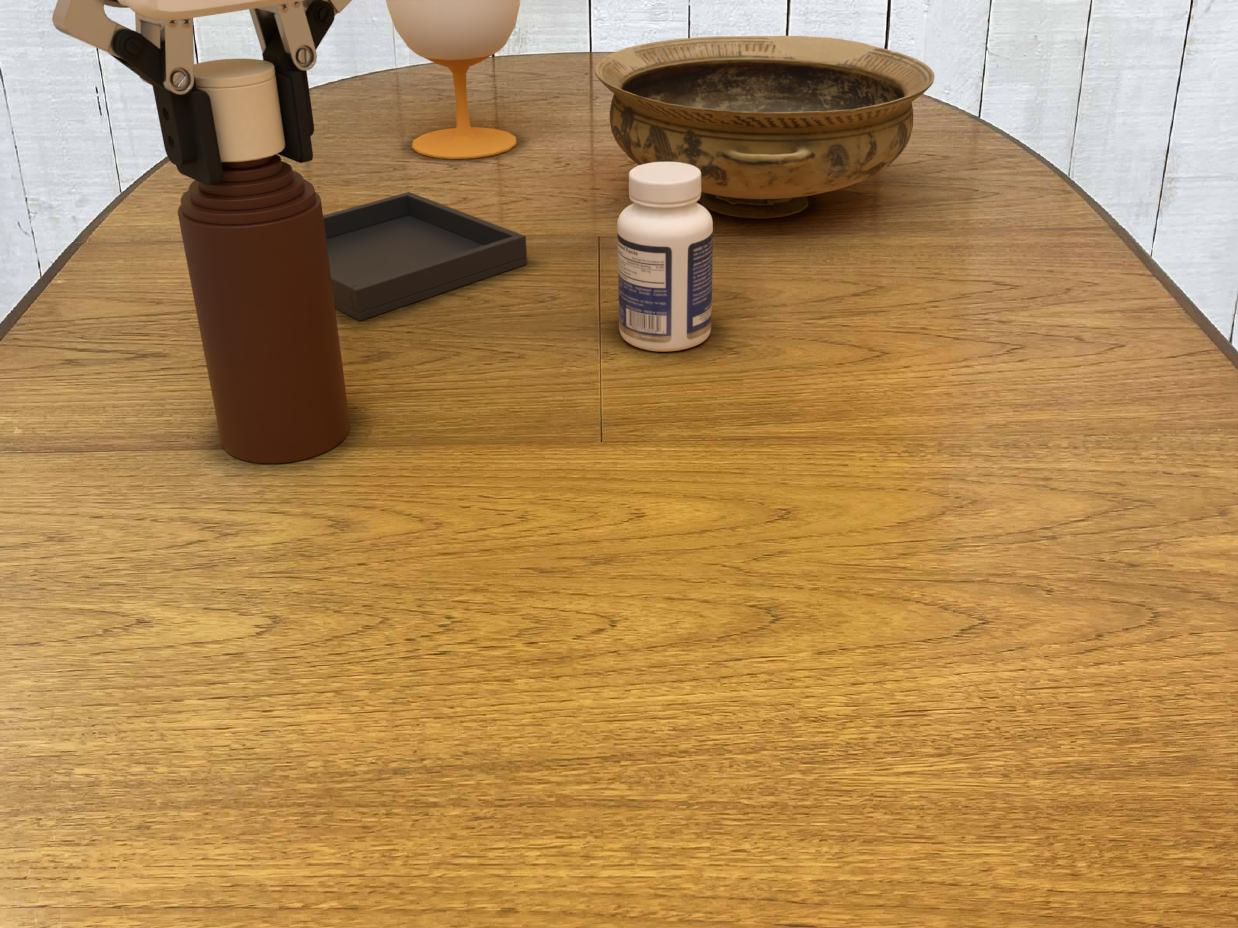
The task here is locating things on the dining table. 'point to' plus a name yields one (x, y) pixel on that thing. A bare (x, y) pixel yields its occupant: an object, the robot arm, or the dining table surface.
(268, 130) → the cap
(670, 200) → the pill bottle
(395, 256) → the tray
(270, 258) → the sauce bottle
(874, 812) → the dining table surface
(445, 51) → the cup
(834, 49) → the ceramic bowl
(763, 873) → the dining table surface
